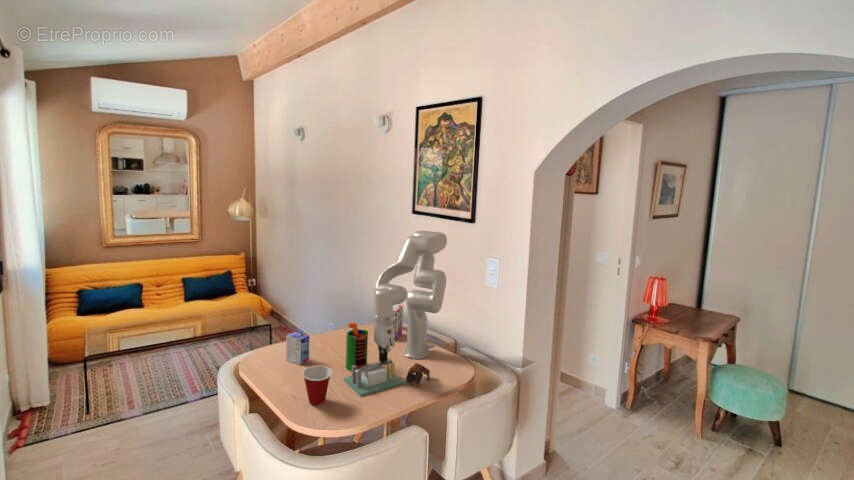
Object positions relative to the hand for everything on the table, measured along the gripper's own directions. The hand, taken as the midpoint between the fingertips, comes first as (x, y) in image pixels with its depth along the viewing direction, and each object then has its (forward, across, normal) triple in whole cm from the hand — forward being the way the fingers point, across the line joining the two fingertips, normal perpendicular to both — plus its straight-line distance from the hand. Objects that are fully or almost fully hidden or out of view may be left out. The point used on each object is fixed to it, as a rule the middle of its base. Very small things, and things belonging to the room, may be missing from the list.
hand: (383, 360), depth 179 cm
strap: (+2, 0, +5) cm, 5 cm away
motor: (+8, +17, +4) cm, 19 cm away
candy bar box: (+9, +39, -28) cm, 49 cm away
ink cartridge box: (+8, +36, +24) cm, 44 cm away
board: (+8, 0, +4) cm, 9 cm away
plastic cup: (+8, -3, +30) cm, 31 cm away
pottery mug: (+9, -10, -11) cm, 17 cm away
